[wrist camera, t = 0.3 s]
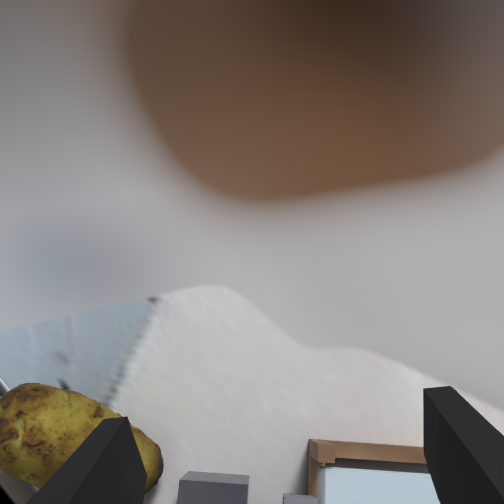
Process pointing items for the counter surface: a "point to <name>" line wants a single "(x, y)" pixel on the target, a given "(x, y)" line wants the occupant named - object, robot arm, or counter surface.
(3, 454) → the potato
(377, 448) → the frame
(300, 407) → the counter surface
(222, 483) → the iron block
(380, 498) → the trapdoor
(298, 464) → the counter surface
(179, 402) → the counter surface
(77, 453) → the robot arm
